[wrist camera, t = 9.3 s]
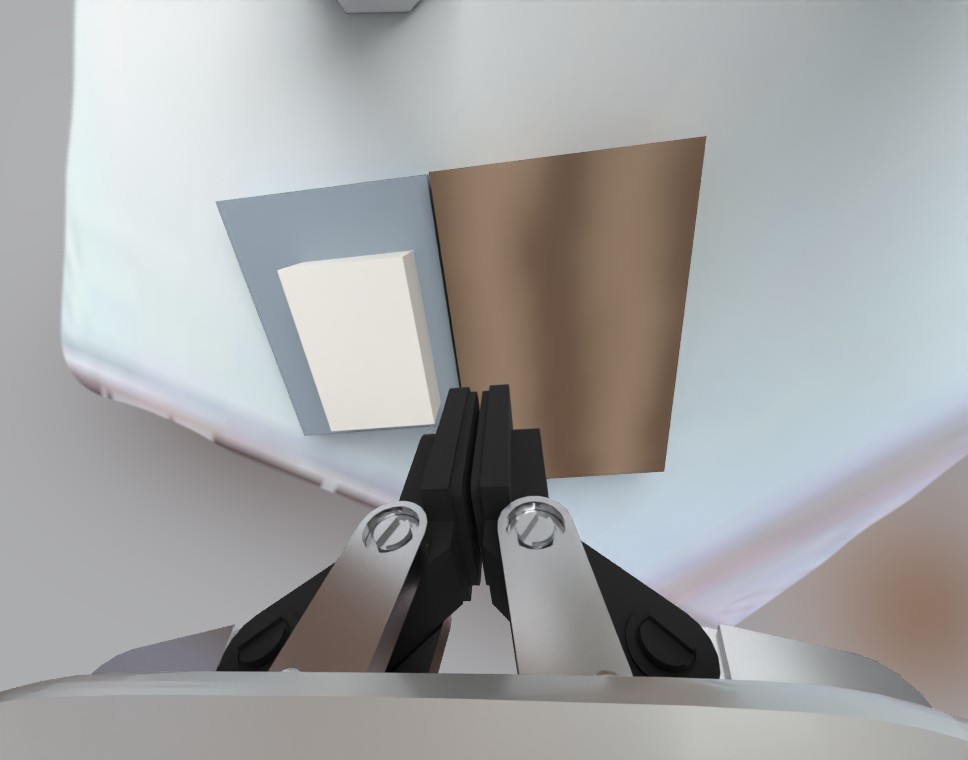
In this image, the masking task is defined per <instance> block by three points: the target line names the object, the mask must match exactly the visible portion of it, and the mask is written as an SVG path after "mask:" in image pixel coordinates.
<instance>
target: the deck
mask: <svg viewBox="0 0 968 760" xmlns="http://www.w3.org/2000/svg"><path fill="white" fill-rule="evenodd" d="M705 143H706V136H705V137H697V138H689V139H681V140H674V141H666V142H658V143H651V144H643V145H635V146H627V147H620V148H612V149H604V150H597V151H589V152H581V153H573V154H566V155H558V156H550V157H543V158H535V159H527V160H519V161H512V162H504V163H496V164H489V165H481V166H473V167H465V168H458V169H450V170H442V171H434V172H429V176H430V183H431V189H432V196H433V202H434V209H435V216H436V222H437V229H438V235H439V242H440V249H441V255H442V262H443V268H444V275H445V282H446V288H447V295H448V301H449V308H450V314H451V321H452V328H453V334H454V341H455V347H456V354H457V361H458V367H459V374H460V380H461V387H469V388H470V391H471V392H475V391H477V393H478V399H479V407H480V406H481V398H482V391H489V387H490V385H503V384H509V388H510V398H511V409H512V420H513V430H515V429H532V428H540V434H541V442H542V450H543V457H544V465H545V473H546V479H549V478H565V477H582V476H598V475H614V474H631V473H647V472H663V471H664V468H665V460H666V452H667V444H668V436H669V428H670V420H671V412H672V404H673V397H674V389H675V381H676V373H677V365H678V357H679V349H680V341H681V333H682V325H683V317H684V309H685V301H686V293H687V285H688V277H689V270H690V262H691V254H692V246H693V238H694V230H695V222H696V214H697V206H698V198H699V190H700V182H701V174H702V166H703V158H704V151H705Z"/></svg>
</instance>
